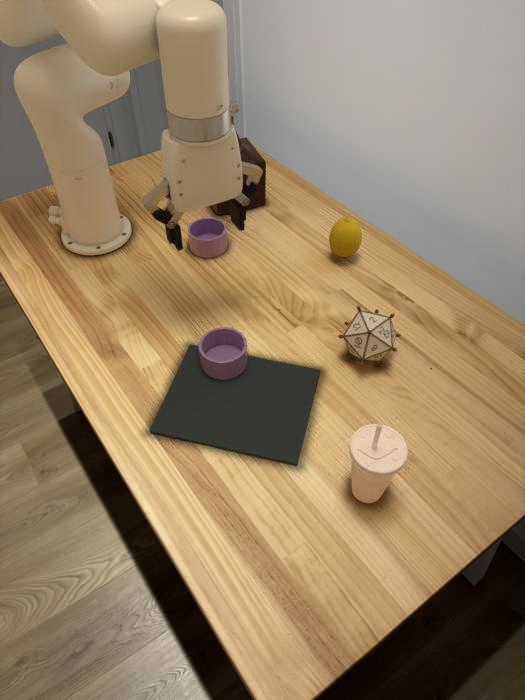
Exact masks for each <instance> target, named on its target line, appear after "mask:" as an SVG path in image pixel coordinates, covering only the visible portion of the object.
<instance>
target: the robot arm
mask: <svg viewBox="0 0 525 700" xmlns="http://www.w3.org/2000/svg"><path fill="white" fill-rule="evenodd" d="M60 35H61V37H62V38H63V39H64V41H65V43H62V44H58V45H56V46H53V47H50V48H47V49H44V50H41V51H39V52H37V53H34V54H31V55H30V56H29V57H26V58H25V59H23V60H22V61H21V62H20V63H19V64H18V65H17V67H16V69H15V71H14V73H13V87H14V90H15V94H16V96H17V98H18V100H19V102H20V104H21V106H22V108H23V109H24V112H25V114H26V115H27V117H28V119H29V121H30V123H31V125H32V127H33V130H34V132H35V134H36V138H37V140H38V143H39V146H40V148H41V151H42V154H43V157H44V160H45V163H46V166H47V169H48V172H49V175H50V178H51V181H52V184H53V187H54V191H55V194H56V197H57V200H58V204H59V205H60V206H57V205H50V206H49V207H48V215H49V217H48V224H53V225H59V226H60V227H61V234H60V237H61V241H62V243H63V244H62V245H64V247H65V248H66V250H68V251H70V252H72V253H75V254H78V255H81V256H100V255H105V254H107V253H111V252H113V251H115V250H118V249H119V248H121V247H122V246H124V245H125V244H126V243H127V242H128V241H129V239H130V238H131V235H132V232H133V229H132V224H131V221H130V220H129V218H128V217H126V216H125V214H122V213H120V210H119V206H118V202H117V197H116V194H115V188H114V185H113V179H112V176H111V173H110V167H109V164H108V159H107V154H106V151H105V146H104V143H103V140H102V138H101V136H100V134H99V133H98V132H97V131H96V130H95V129H94V128H93V127H91V126H90V125H89V124H88V123H86V121H84V116H85V115H87V114H89V113H90V112H92V111H95V110H96V109H98V108H101V107H103V106H105V105H107V104H110V103H111V102H113V101H116V100H118V99H120V98H121V97H123V96H124V95H125V94H126V93H127V92H128V90H129V88H130V84H131V73H130V71H132V70H134V69H138V68H140V67H141V66H145V65H147V64H149V63H151V62H153V61H157V60H160V61H159V62H160V70H161V77H162V78H161V79H162V86H163V95H164V96H163V97H164V103H165V110H166V120H167V126H168V127H167V128H165V129H164V130H163V131H162V133H161V141H160V175H161V182H160V183H158V184H157V185H156V186H155V187H154V188H152V189H151V190H150V191H149V192H148V193H147V194H145V195H144V196H143V197H142V198H141V199H140V203H141V205H142V206H143V207H144V209H145V210H146V211H147V212H148V213H149V214H150V215H151V216H152V218H153V219H154V220H155V221H158V222H159V223H161V224H163V225H164V227H165V235H166V239H167V241H168V242H169V245H172V244H173V246H174V247H175V249H176V250H177V251H178V252H180V251H183V250H184V245H183V244H184V243H183V239H182V238H183V237H182V229H181V225H180V224H179V221H180V220H181V218H182V216H183V215H184V213H191V212H194V211H197V210H201V209H204V208H208V207H211V205H214V204H217V203H221V202H224V201H227V200H230V214H229V215H230V221H231V223H232V224H233V225H234V226H235V228H237V230H238V231H240V232H241V231H244V230H245V221H247V210H246V205H248V204H249V202H250V200H249V198H250V197H251V196H252V194H253V193H254V192H255V191H256V189H257V183H259V180H260V178H261V176H262V174H263V170H262V169H261V168H260V167H259V166H257V165H254V164H250V163H246V162H242V161H241V155H240V149H239V144H238V139H237V135H236V132H237V130H236V128H235V124H234V125H233V124H232V120H231V116H234V115H235V114H236V113H239V112H240V104H239V102H238V101H237V100H234V101H231V100H230V74H229V49H228V48H229V47H228V44H229V43H228V22H227V16H226V13H225V11H224V9H223V8H222V6H221V5H220V4H218V3H217V2H215V1H213V0H0V41H1V42H2V43H3V44H4V45H6V46H8V47H13V48H21V47H26V46H30V45H34V44H37V43H40V42H42V41H46V40H48V39H51V38H54V37H57V36H60ZM235 130H236V131H235ZM242 174H245V175H248V179H246V180H245V181H244V183H243V176H242ZM164 198H165V200H167V202H166V203H165V205H164V206H163V208H161V207H159V206H157V205H158V204H159V202H161V201H162V200H163V199H164Z"/></svg>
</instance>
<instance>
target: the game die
mask: <svg viewBox="0 0 525 700" xmlns="http://www.w3.org/2000/svg"><path fill="white" fill-rule="evenodd" d="M356 309H357V312H356V314H355V315H354V316H353V318H351V320H350V321H349V322H348V321H344V322H343V324H344V326H346V329H345V331H344V333H343V334H339V335H338V336H337V338H339V339H343V340H344V342H345V345H346V347H347V349H348V352H349V353H347V354H346V358H350V357H351V356H354V357H356V358H358V359H359V360H360V365H364V364H365V361H368V362H369V361H370V362H378V365H379V366H381V367H382V366H383V361H382V360H383V359H384V358H385V357H386V356H387V355H388V354H389V353H390V352H391V351H392V352H398V349H397V347H394V345H395V341H396V338H400V337H401V336H402V335H401V334H400V333H396V331H395V328H394V324H393V321H392V319H393V318H395V313H394V312H393V313H391V314H390V315H389V316H388V315H384V314H381V313H379V309H378V308H376V309H375V310H374V312H372V311H367V310H361V309H362V308H361V306H359V304H357V306H356Z"/></svg>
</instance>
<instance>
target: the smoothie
mask: <svg viewBox="0 0 525 700" xmlns="http://www.w3.org/2000/svg"><path fill="white" fill-rule="evenodd" d="M407 445H408V444H407V442H406V439H404V437H403V436H402V434H401V433H399V432H398V431H397V430H396V429H394V428H393V427H391V426H388V425H385V424H383V423H381V422H379V423H368V424H365V425H362V426H361V427H359V428H358V429H356V430H355V431H354V433H352V435H351V438H350V441H349V443H348V455H349V457H350V460H351V462H350V463H351V464H350V465H351V492H352V494H353V496H354V498H355V499H356V500H358V501H360V502H361V503H364V504H374V503H376V502H378V501H379V500H380V498H381V497H382V496H383V494H384V492H385V491H386V489H387V488H388V486H389V485H390V483H391V482H392V480H393V478H394V477H395V476H396V474H399V473H400V472H401V471H402V470H403V469H404V467H405V465H406V464H407V459H408V453H409V451H408V446H407Z"/></svg>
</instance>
